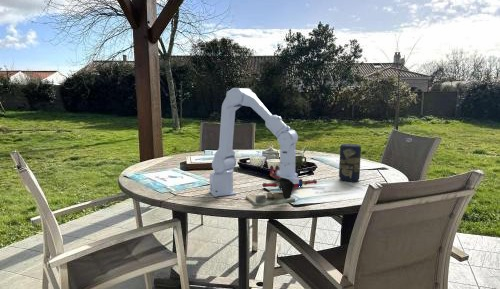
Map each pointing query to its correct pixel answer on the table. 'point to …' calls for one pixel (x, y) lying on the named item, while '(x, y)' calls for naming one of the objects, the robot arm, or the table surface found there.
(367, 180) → the table surface
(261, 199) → the door board
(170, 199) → the table surface
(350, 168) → the canister
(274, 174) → the toy
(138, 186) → the table surface
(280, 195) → the swing latch
